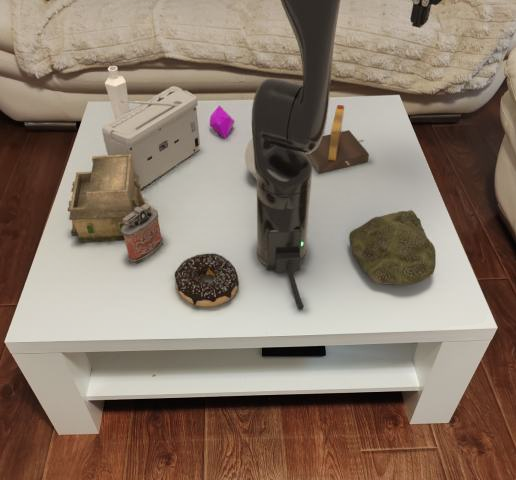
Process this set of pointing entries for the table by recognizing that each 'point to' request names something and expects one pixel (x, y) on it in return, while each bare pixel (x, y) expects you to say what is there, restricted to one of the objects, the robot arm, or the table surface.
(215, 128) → the crystal
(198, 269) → the donut
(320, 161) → the panel
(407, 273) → the decorative rock
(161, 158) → the radio
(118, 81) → the perfume bottle
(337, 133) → the tan wooden flat block
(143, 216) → the lighter
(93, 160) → the miniature house
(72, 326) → the table surface
